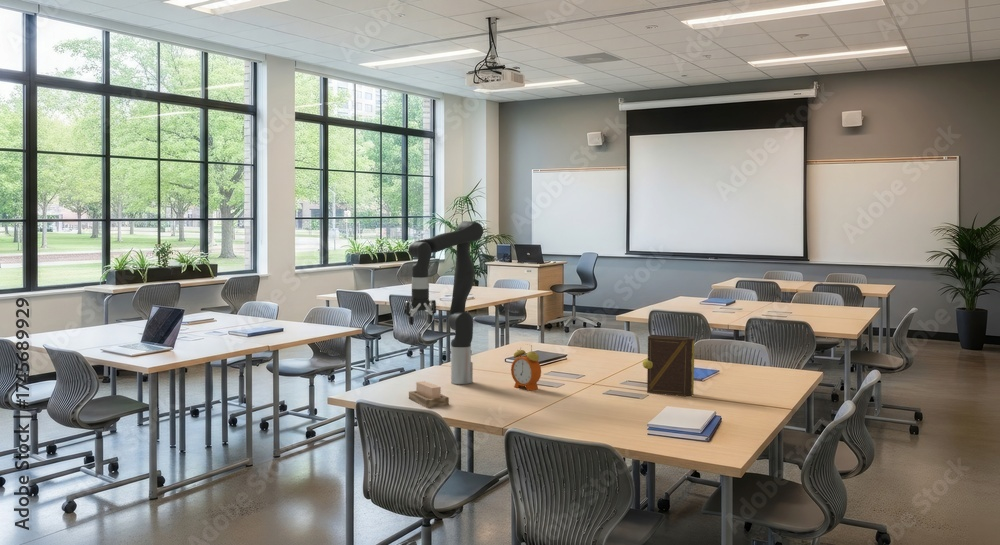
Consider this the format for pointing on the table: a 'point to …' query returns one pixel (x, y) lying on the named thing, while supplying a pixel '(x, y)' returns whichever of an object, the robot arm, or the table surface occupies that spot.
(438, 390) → the strip
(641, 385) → the table surface
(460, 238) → the robot arm
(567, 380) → the table surface
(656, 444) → the table surface
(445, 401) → the picture frame
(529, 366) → the alarm clock
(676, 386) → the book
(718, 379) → the table surface
